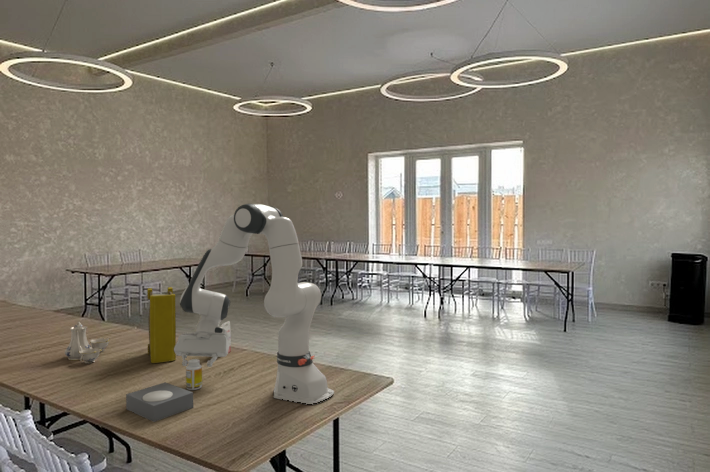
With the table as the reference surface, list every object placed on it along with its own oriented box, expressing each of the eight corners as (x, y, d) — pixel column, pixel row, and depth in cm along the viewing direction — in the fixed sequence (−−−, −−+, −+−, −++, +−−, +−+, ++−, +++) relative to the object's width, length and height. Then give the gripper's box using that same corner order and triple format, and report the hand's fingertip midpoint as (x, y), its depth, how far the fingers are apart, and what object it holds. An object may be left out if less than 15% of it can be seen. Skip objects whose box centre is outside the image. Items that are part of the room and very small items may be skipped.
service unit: (193, 407, 156) (193, 391, 156) (153, 422, 144) (153, 405, 144) (164, 395, 165) (164, 381, 165) (125, 408, 154) (125, 392, 154)
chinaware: (102, 368, 200) (106, 329, 200) (56, 368, 194) (61, 328, 194) (109, 350, 226) (113, 316, 226) (70, 350, 220) (73, 315, 220)
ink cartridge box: (221, 351, 221) (221, 320, 221) (231, 351, 220) (231, 320, 220) (212, 356, 213) (212, 323, 213) (222, 357, 212) (222, 324, 212)
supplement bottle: (203, 385, 177) (203, 358, 176) (200, 390, 171) (200, 362, 171) (188, 385, 176) (188, 358, 176) (184, 390, 170) (184, 363, 170)
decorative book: (176, 361, 205) (176, 292, 204) (149, 364, 200) (148, 294, 199) (172, 349, 223) (172, 286, 222) (147, 352, 218) (146, 287, 217)
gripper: (177, 328, 183) (166, 360, 174) (229, 329, 182) (221, 362, 173) (182, 336, 188) (172, 368, 179) (233, 338, 187) (225, 370, 178)
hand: (196, 365), depth 176 cm, fingers open, 8 cm apart
